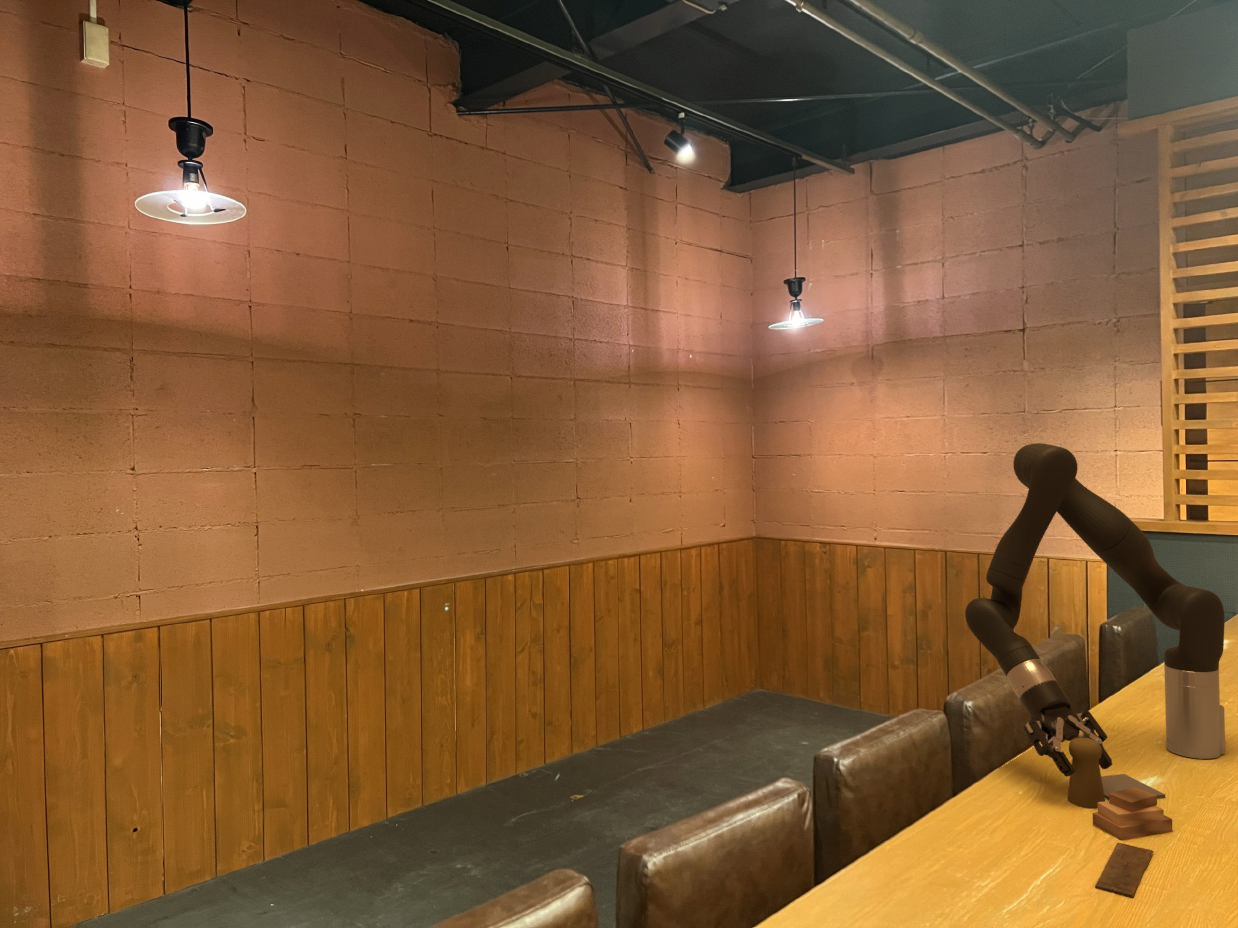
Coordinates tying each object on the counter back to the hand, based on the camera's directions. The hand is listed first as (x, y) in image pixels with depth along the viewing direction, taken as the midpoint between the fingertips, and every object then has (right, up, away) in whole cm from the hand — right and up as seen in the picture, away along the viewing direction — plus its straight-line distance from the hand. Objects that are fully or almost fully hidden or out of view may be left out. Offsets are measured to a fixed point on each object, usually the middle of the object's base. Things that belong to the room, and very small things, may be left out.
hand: (1089, 770), depth 155 cm
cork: (0, -6, +1) cm, 6 cm away
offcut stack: (+2, -6, -10) cm, 12 cm away
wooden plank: (-7, -7, -23) cm, 26 cm away
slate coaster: (+8, -5, +5) cm, 11 cm away
